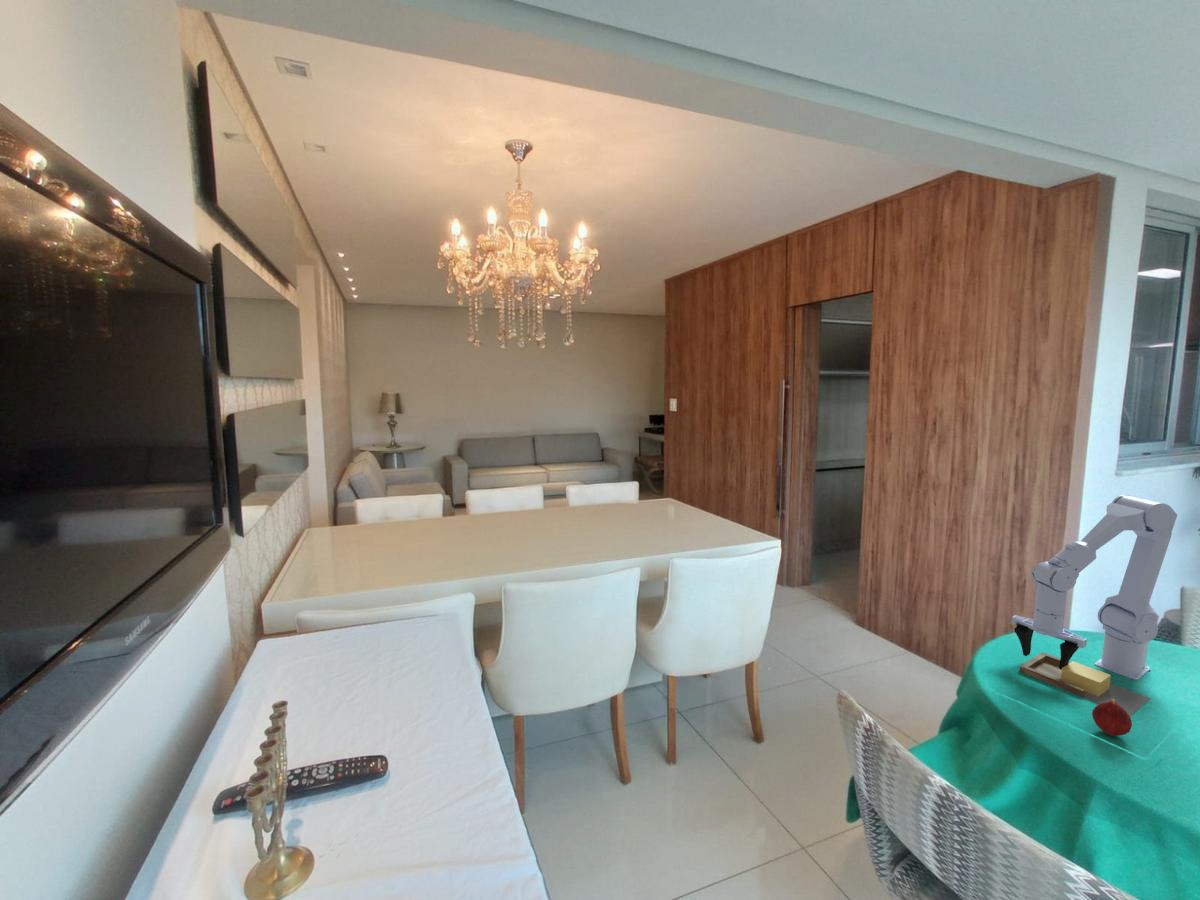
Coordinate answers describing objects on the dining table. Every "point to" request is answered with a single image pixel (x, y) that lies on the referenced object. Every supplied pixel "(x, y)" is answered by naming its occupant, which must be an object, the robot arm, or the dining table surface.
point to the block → (1086, 678)
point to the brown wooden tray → (1049, 672)
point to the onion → (1112, 718)
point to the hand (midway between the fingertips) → (1044, 661)
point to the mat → (1120, 698)
